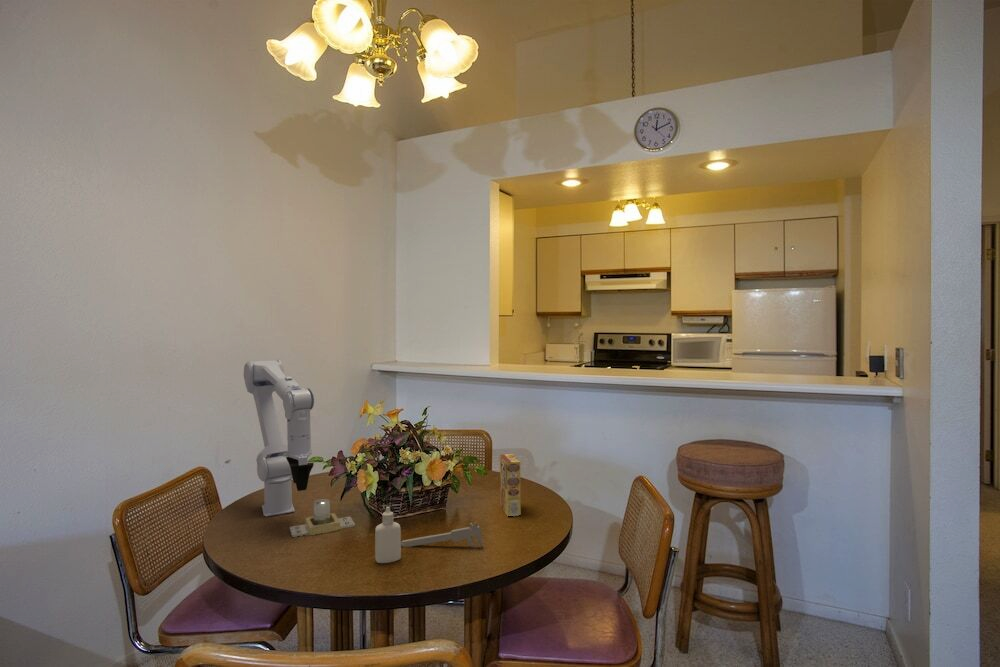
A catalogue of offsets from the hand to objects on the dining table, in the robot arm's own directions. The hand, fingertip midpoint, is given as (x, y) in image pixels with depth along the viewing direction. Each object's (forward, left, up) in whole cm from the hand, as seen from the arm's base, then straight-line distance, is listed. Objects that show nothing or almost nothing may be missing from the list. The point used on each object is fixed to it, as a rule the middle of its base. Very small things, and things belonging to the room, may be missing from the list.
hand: (299, 486), depth 138 cm
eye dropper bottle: (+31, +15, -11) cm, 36 cm away
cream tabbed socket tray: (+5, +5, -10) cm, 12 cm away
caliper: (+30, +28, -11) cm, 42 cm away
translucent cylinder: (+5, +5, -10) cm, 12 cm away
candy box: (+18, +54, -11) cm, 58 cm away
